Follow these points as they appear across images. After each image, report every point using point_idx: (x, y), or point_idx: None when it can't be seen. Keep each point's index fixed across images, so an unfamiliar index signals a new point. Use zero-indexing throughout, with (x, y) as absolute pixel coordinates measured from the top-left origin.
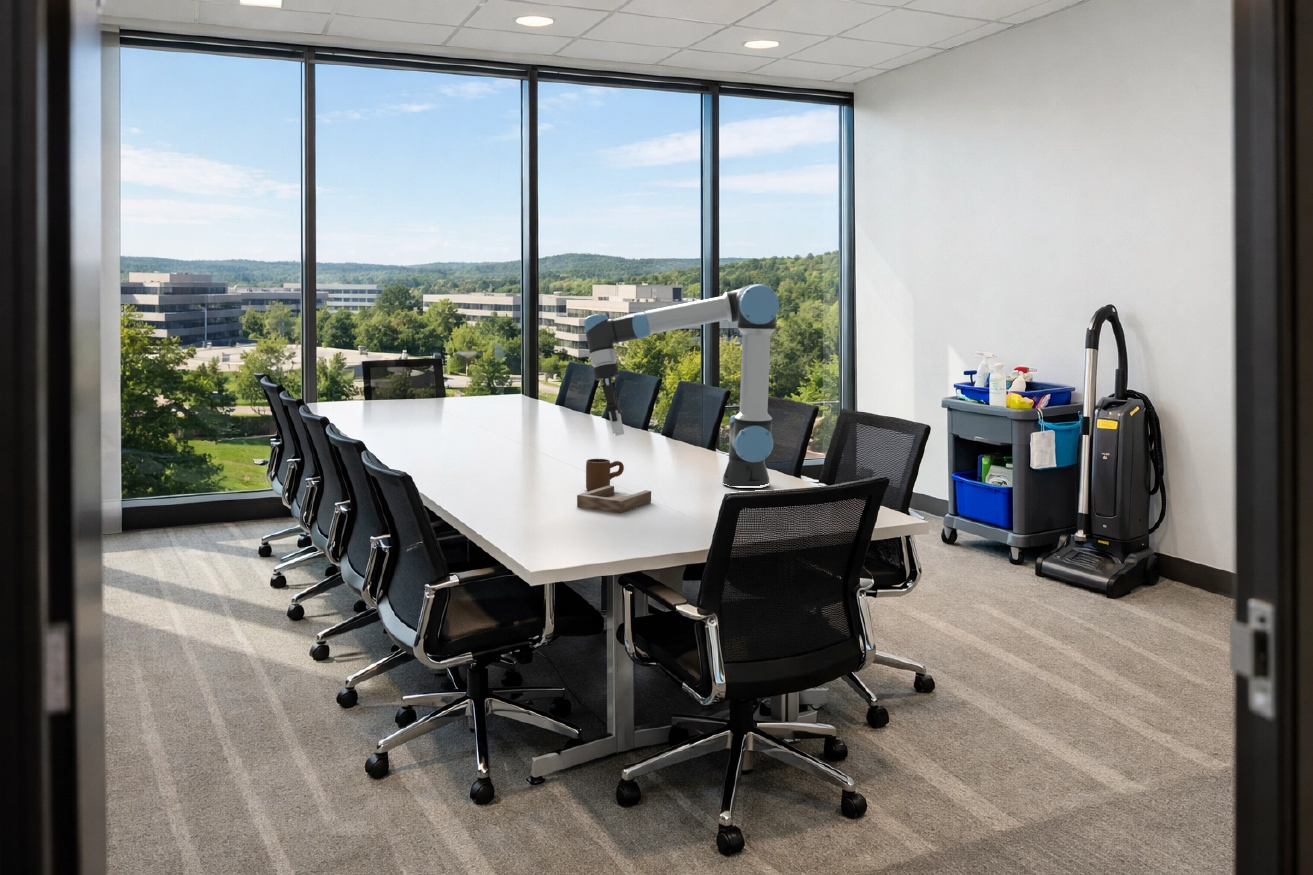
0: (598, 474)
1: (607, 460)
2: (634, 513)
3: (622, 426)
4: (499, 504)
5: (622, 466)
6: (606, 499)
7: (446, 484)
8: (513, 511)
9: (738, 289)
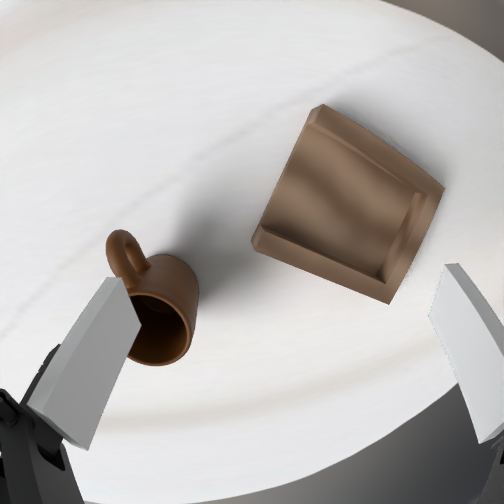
0: (195, 303)
1: None
2: (424, 153)
3: (96, 317)
4: (347, 414)
5: (122, 236)
6: (428, 225)
7: (206, 490)
8: (399, 378)
9: None
